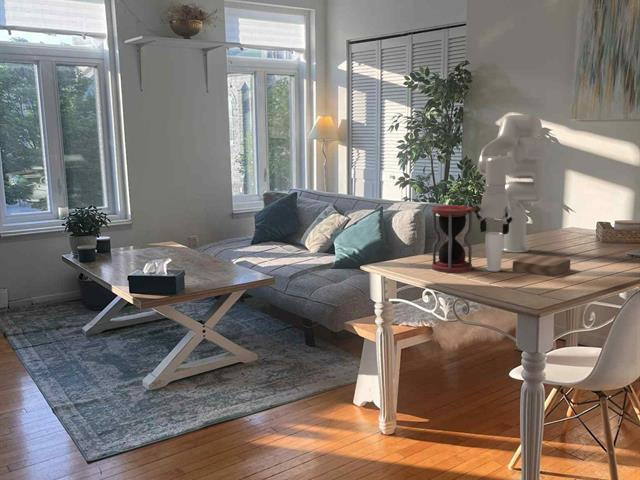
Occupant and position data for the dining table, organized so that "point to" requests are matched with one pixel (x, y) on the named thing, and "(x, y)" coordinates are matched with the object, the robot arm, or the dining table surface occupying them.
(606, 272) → the dining table surface
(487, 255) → the white tapered cylinder
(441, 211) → the hourglass
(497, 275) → the dining table surface
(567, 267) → the walnut block
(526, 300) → the dining table surface
